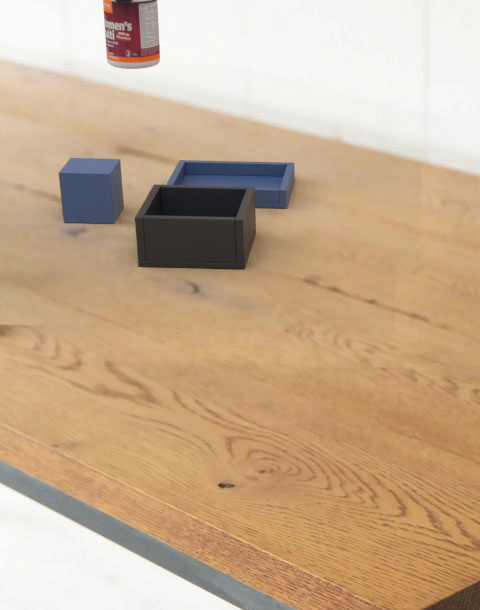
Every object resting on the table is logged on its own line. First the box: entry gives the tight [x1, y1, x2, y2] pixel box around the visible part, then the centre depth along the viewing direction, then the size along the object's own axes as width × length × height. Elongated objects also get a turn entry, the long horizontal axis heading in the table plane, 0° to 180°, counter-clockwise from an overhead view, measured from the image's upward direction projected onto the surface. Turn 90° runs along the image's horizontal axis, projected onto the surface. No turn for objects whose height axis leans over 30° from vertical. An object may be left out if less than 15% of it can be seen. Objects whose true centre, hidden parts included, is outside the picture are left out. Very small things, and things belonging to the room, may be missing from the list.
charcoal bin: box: [134, 184, 257, 270], centre depth 137 cm, size 11×11×5 cm
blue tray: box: [165, 159, 296, 209], centre depth 154 cm, size 14×11×2 cm
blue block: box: [58, 157, 125, 225], centre depth 146 cm, size 6×6×6 cm
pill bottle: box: [102, 0, 161, 70], centre depth 155 cm, size 6×6×11 cm
